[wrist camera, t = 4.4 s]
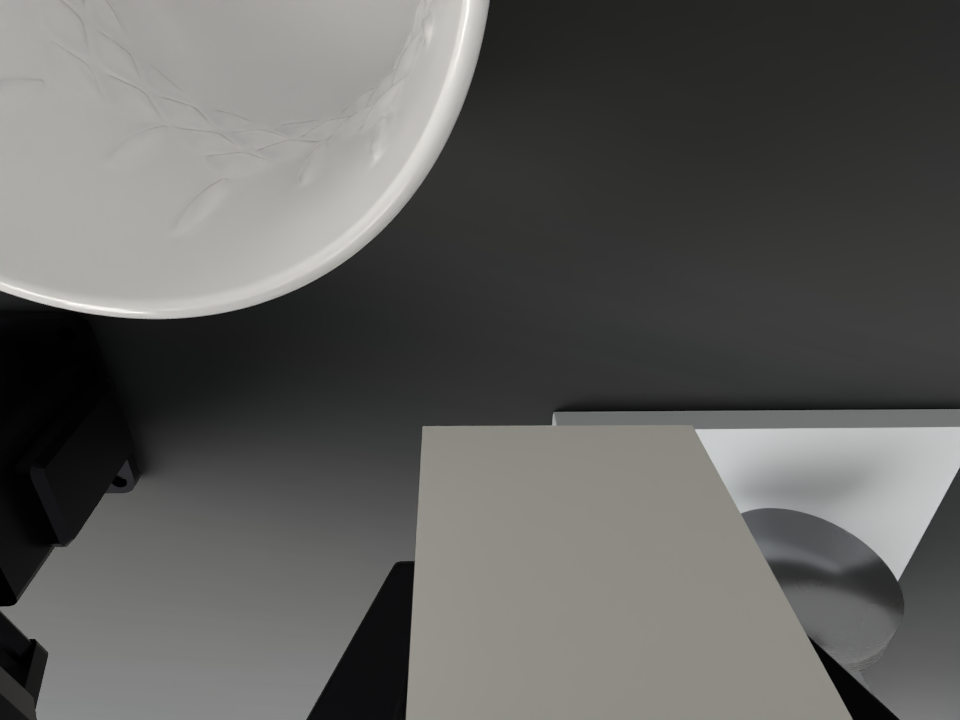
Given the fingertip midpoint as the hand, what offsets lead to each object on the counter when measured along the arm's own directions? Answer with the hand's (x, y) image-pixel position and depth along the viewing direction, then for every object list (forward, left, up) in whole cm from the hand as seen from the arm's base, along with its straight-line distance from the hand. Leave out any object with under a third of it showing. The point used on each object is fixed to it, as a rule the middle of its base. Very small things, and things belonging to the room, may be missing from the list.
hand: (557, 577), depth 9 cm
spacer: (0, 0, -1) cm, 1 cm away
